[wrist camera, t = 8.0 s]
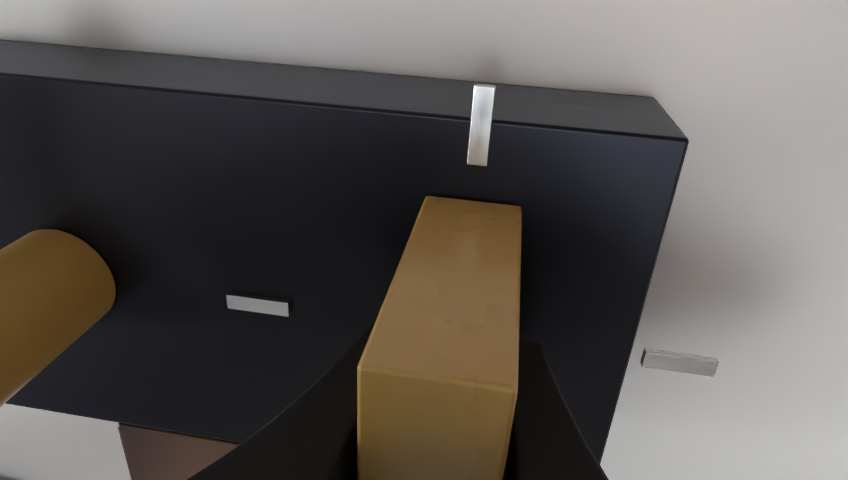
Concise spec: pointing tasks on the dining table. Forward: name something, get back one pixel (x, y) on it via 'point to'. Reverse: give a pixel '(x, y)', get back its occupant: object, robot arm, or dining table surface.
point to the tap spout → (47, 302)
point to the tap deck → (316, 221)
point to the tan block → (445, 349)
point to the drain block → (168, 452)
